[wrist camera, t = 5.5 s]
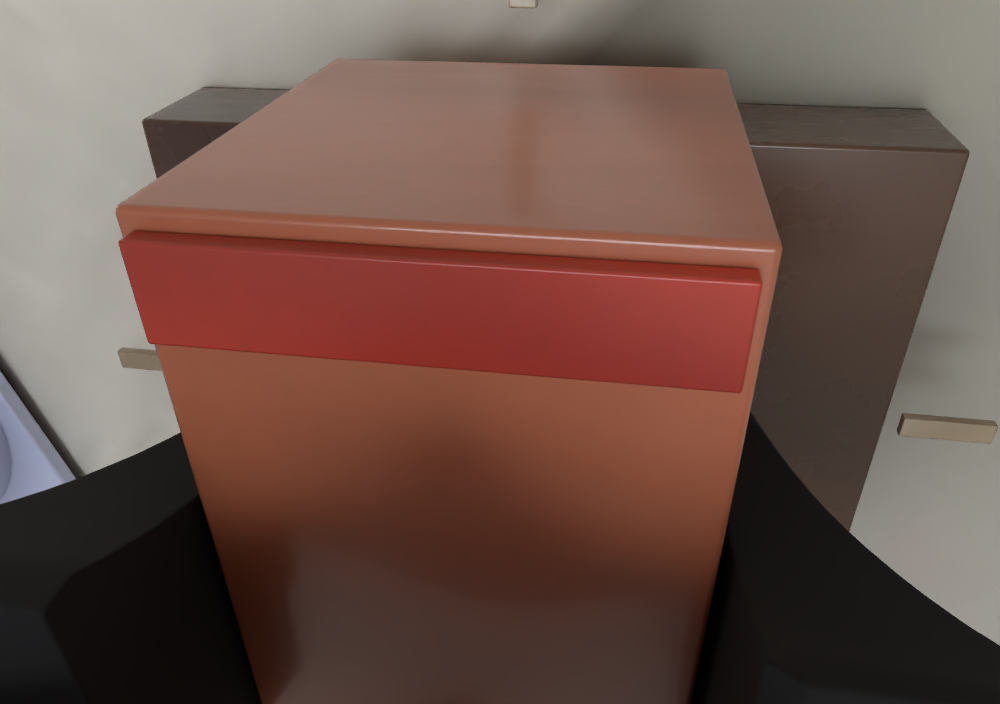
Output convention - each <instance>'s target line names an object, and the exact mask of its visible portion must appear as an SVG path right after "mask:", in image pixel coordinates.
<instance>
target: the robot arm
mask: <svg viewBox="0 0 1000 704" xmlns="http://www.w3.org/2000/svg"><path fill="white" fill-rule="evenodd" d="M0 704H261V701H260V697H259V694H258V691H257V687H256V684H255V680H254V677H253V674H252V670H251V667H250V664H249V660H248V657H247V654H246V650H245V647H244V643H243V640H242V637H241V633H240V630H239V627H238V623H237V620H236V616H235V613H234V610H233V606H232V603H231V600H230V596H229V593H228V590H227V586H226V583H225V579H224V576H223V573H222V569H221V566H220V563H219V559H218V556H217V552H216V549H215V546H214V542H213V539H212V536H211V532H210V529H209V526H208V522H207V519H206V515H205V512H204V509H203V505H202V502H201V499H200V495H199V492H198V488H197V485H196V482H195V478H194V475H193V472H192V468H191V465H190V462H189V458H188V455H187V451H186V448H185V445H184V441H183V438H182V435H181V432H180V433H178V434H177V435H175V436H173V437H171V438H169V439H167V440H165V441H163V442H161V443H159V444H157V445H154V446H152V447H150V448H148V449H146V450H144V451H142V452H140V453H138V454H136V455H133V456H131V457H129V458H126V459H124V460H121V461H119V462H117V463H114V464H112V465H109V466H107V467H104V468H102V469H100V470H97V471H95V472H92V473H90V474H87V475H85V476H83V477H80V478H78V479H76V478H75V476H74V475H73V473H72V472H71V471H70V469H69V468H68V466H67V465H66V463H65V462H64V461H63V459H62V458H61V456H60V455H59V453H58V452H57V451H56V449H55V448H54V446H53V445H52V444H51V442H50V441H49V439H48V438H47V436H46V435H45V434H44V432H43V431H42V429H41V428H40V427H39V425H38V424H37V422H36V421H35V419H34V418H33V417H32V415H31V414H30V412H29V411H28V410H27V408H26V407H25V405H24V404H23V402H22V401H21V400H20V398H19V397H18V395H17V394H16V392H15V391H14V390H13V388H12V387H11V385H10V384H9V383H8V381H7V380H6V378H5V377H4V375H3V374H2V373H1V371H0ZM691 704H1000V646H999V645H998V644H996V643H995V642H993V641H991V640H990V639H988V638H987V637H985V636H983V635H982V634H980V633H979V632H977V631H975V630H974V629H972V628H970V627H969V626H968V625H966V624H965V623H963V622H962V621H960V620H959V619H957V618H956V617H955V616H953V615H952V614H950V613H949V612H947V611H946V610H945V609H943V608H942V607H940V606H939V605H938V604H936V603H935V602H933V601H932V600H931V599H929V598H928V597H926V596H925V595H924V594H922V593H921V592H920V591H919V590H917V589H916V588H915V587H913V586H912V585H911V584H909V583H908V582H907V581H906V580H904V579H903V578H902V577H900V576H899V575H898V574H897V573H895V572H894V571H893V570H892V569H891V568H890V567H888V566H887V565H886V564H885V563H884V562H882V561H881V560H880V559H879V558H878V557H877V556H875V555H874V554H873V553H872V552H871V551H869V550H868V549H867V548H866V547H865V546H864V545H863V544H862V543H860V542H859V541H858V540H857V539H856V538H855V537H854V536H853V535H852V534H851V533H850V532H848V531H847V530H846V529H845V528H844V527H843V526H842V525H841V524H840V523H839V522H838V521H837V520H836V519H835V518H834V517H833V516H832V515H831V513H830V512H829V511H828V510H827V509H826V508H825V507H824V506H823V505H822V504H821V503H820V502H819V501H818V500H817V499H816V497H815V496H814V495H813V494H812V493H811V492H810V491H809V489H808V488H807V487H806V486H805V485H804V483H803V482H802V481H801V480H800V478H799V477H798V476H797V475H796V474H795V472H794V471H793V470H792V469H791V467H790V466H789V465H788V464H787V462H786V461H785V460H784V458H783V457H782V456H781V454H780V453H779V452H778V450H777V449H776V447H775V446H774V445H773V443H772V442H771V440H770V439H769V438H768V436H767V435H766V433H765V432H764V431H763V429H762V428H761V426H760V425H759V423H758V422H757V420H756V419H755V417H754V415H753V414H752V412H751V411H750V415H749V420H748V425H747V430H746V435H745V440H744V445H743V449H742V454H741V459H740V464H739V469H738V474H737V479H736V484H735V489H734V494H733V499H732V504H731V509H730V514H729V519H728V524H727V529H726V534H725V539H724V544H723V549H722V553H721V558H720V563H719V568H718V573H717V578H716V583H715V588H714V593H713V598H712V603H711V608H710V613H709V618H708V623H707V628H706V633H705V638H704V643H703V648H702V653H701V658H700V662H699V667H698V672H697V677H696V682H695V687H694V692H693V697H692V702H691Z"/></svg>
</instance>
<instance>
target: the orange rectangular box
mask: <svg viewBox="0 0 1000 704" xmlns="http://www.w3.org/2000/svg"><path fill="white" fill-rule="evenodd" d="M116 216H117V219H118V222H119V226H120V229H121V233H122V236H123V238H122V239H121V240H120V241H119V247H120V250H121V254H122V257H123V260H124V264H125V267H126V270H127V274H128V277H129V280H130V283H131V287H132V290H133V293H134V297H135V300H136V303H137V307H138V310H139V313H140V317H141V320H142V323H143V327H144V330H145V333H146V336H147V340H148V342H149V343H150V344H155V347H156V350H157V354H158V357H159V361H160V364H161V367H162V371H163V374H164V377H165V381H166V384H167V387H168V391H169V394H170V398H171V401H172V404H173V408H174V411H175V414H176V418H177V421H178V425H179V428H180V431H181V435H182V438H183V441H184V445H185V448H186V451H187V455H188V458H189V462H190V465H191V468H192V472H193V475H194V478H195V482H196V485H197V488H198V492H199V495H200V499H201V502H202V505H203V509H204V512H205V515H206V519H207V522H208V526H209V529H210V532H211V536H212V539H213V542H214V546H215V549H216V552H217V556H218V559H219V563H220V566H221V569H222V573H223V576H224V579H225V583H226V586H227V590H228V593H229V596H230V600H231V603H232V606H233V610H234V613H235V616H236V620H237V623H238V627H239V630H240V633H241V637H242V640H243V643H244V647H245V650H246V654H247V657H248V660H249V664H250V667H251V670H252V674H253V677H254V680H255V684H256V687H257V691H258V694H259V697H260V701H261V704H691V702H692V697H693V692H694V687H695V682H696V677H697V672H698V667H699V662H700V658H701V653H702V648H703V643H704V638H705V633H706V628H707V623H708V618H709V613H710V608H711V603H712V598H713V593H714V588H715V583H716V578H717V573H718V568H719V563H720V558H721V553H722V549H723V544H724V539H725V534H726V529H727V524H728V519H729V514H730V509H731V504H732V499H733V494H734V489H735V484H736V479H737V474H738V469H739V464H740V459H741V454H742V449H743V445H744V440H745V435H746V430H747V425H748V420H749V415H750V410H751V405H752V400H753V395H754V390H755V385H756V380H757V375H758V370H759V365H760V360H761V355H762V350H763V345H764V340H765V336H766V331H767V326H768V321H769V316H770V311H771V306H772V301H773V296H774V291H775V286H776V281H777V276H778V271H779V266H780V261H781V256H782V251H783V248H782V244H781V241H780V238H779V235H778V231H777V228H776V225H775V222H774V219H773V216H772V213H771V209H770V206H769V203H768V200H767V197H766V194H765V191H764V187H763V184H762V181H761V178H760V175H759V172H758V169H757V165H756V162H755V159H754V156H753V153H752V150H751V146H750V143H749V140H748V137H747V134H746V131H745V128H744V124H743V121H742V118H741V115H740V112H739V109H738V106H737V102H736V99H735V96H734V93H733V90H732V87H731V84H730V80H729V77H728V74H727V71H726V70H724V69H714V68H675V67H637V66H598V65H560V64H522V63H483V62H445V61H406V60H368V59H336V60H334V61H333V62H331V63H330V64H328V65H327V66H325V67H324V68H322V69H321V70H319V71H318V72H316V73H315V74H313V75H312V76H310V77H309V78H307V79H306V80H304V81H303V82H301V83H300V84H298V85H297V86H295V87H294V88H292V89H291V90H289V91H288V92H286V93H285V94H283V95H282V96H280V97H279V98H277V99H276V100H274V101H273V102H271V103H270V104H268V105H267V106H265V107H264V108H262V109H261V110H259V111H258V112H256V113H255V114H253V115H252V116H250V117H249V118H247V119H246V120H244V121H243V122H241V123H240V124H238V125H237V126H235V127H234V128H232V129H231V130H229V131H228V132H226V133H225V134H223V135H222V136H220V137H219V138H217V139H216V140H214V141H213V142H211V143H210V144H208V145H207V146H205V147H204V148H202V149H201V150H199V151H198V152H196V153H195V154H193V155H192V156H190V157H189V158H187V159H186V160H184V161H183V162H181V163H180V164H178V165H177V166H175V167H174V168H172V169H171V170H169V171H168V172H166V173H165V174H163V175H162V176H160V177H159V178H157V179H156V180H155V181H153V182H152V183H150V184H149V185H147V186H146V187H144V188H143V189H141V190H140V191H138V192H137V193H135V194H134V195H132V196H131V197H129V198H128V199H126V200H125V201H123V202H122V203H120V204H119V205H118V206H117V208H116Z"/></svg>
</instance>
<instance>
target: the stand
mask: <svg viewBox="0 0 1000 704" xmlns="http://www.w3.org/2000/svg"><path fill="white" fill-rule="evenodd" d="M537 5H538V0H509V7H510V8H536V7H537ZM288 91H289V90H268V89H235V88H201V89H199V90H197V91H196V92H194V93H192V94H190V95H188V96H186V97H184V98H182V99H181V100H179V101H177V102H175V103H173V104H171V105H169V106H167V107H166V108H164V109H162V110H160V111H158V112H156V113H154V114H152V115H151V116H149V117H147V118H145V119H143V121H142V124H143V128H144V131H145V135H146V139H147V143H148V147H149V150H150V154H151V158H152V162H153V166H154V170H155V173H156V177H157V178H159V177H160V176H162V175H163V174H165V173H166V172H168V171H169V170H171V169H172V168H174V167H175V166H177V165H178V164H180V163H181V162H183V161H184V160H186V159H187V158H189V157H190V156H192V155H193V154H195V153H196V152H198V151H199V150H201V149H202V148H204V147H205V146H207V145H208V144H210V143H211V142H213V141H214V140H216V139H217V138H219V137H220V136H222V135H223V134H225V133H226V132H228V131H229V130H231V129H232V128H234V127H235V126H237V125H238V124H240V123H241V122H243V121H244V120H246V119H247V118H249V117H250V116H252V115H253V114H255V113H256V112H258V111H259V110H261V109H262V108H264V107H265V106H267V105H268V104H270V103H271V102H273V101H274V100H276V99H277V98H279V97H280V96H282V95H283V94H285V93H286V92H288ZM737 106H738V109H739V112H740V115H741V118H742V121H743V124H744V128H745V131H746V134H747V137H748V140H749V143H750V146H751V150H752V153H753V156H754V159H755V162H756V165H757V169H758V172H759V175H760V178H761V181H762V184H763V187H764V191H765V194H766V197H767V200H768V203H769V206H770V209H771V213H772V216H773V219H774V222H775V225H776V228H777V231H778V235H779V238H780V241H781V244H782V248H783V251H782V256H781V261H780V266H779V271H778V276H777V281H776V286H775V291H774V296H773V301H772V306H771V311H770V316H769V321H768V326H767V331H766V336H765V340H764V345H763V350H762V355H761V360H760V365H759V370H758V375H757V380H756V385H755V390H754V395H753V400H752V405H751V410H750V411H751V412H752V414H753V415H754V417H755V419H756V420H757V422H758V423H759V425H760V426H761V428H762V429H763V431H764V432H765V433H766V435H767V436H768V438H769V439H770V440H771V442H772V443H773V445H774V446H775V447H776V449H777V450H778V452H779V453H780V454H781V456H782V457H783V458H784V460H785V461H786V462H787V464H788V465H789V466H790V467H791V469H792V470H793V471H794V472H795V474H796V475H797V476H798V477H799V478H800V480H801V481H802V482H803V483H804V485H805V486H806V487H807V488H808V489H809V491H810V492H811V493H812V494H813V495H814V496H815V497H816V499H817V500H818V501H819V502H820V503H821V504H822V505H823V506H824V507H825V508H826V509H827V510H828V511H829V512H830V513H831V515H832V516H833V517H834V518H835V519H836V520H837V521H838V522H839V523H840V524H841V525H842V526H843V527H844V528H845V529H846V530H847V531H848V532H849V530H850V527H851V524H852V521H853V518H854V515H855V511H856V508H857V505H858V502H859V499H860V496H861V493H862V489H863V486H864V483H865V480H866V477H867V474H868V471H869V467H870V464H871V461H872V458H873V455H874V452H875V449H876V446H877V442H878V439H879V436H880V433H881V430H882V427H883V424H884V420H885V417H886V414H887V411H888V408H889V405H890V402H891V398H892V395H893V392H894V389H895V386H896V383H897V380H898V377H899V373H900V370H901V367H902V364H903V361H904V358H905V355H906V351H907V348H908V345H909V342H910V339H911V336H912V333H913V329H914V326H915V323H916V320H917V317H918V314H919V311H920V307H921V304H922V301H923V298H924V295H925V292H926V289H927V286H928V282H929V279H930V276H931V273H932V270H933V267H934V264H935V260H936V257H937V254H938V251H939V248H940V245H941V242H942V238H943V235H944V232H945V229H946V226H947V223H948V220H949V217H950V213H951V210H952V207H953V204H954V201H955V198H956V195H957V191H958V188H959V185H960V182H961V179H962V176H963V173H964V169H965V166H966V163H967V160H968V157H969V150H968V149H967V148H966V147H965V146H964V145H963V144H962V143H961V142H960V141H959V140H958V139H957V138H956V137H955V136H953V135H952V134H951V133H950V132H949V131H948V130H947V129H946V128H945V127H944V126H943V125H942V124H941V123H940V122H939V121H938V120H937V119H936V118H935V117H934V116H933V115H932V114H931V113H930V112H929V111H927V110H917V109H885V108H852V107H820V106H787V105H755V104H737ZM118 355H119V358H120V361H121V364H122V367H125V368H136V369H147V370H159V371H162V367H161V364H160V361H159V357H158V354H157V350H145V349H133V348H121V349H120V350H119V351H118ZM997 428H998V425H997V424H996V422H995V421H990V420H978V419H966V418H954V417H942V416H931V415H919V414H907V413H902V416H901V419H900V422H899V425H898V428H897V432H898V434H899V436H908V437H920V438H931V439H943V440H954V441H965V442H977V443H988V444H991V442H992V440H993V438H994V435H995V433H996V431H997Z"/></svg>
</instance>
